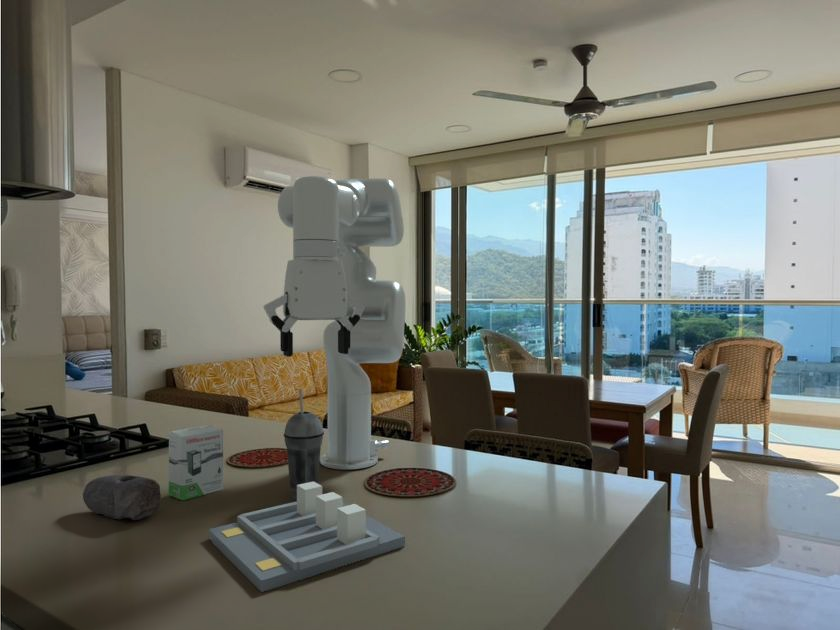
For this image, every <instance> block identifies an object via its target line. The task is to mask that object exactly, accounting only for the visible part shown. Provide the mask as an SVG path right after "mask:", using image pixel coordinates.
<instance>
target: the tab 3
mask: <svg viewBox="0 0 840 630" xmlns="http://www.w3.org/2000/svg"><path fill="white" fill-rule="evenodd" d="M347 505H348V506H344V507H340V508H337V539H338V540H339V541H341V542H342V543H344V544H348V543H352V542H355V541H359V540H362V539H365V538H366V515H367V513H366V512H367V509H365V508H363V507H362V506H360V505H358V504H356V503H353V504H350V505H349V504H347Z"/></svg>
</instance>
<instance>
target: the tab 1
mask: <svg viewBox="0 0 840 630" xmlns="http://www.w3.org/2000/svg"><path fill="white" fill-rule="evenodd" d="M322 494H323V485H321V484H319V483H318V484H317V483H315V482H314V481H313V482H309V483H304V484H299V485H297V500H296V502H297V513H299V514H300V515H302V516H305V515H309V514H313V513H316V496H318V495H322Z"/></svg>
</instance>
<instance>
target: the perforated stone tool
mask: <svg viewBox="0 0 840 630" xmlns="http://www.w3.org/2000/svg"><path fill="white" fill-rule="evenodd" d="M161 497H162V496H161V486H160V484H159V483H158V481H157V480H155V479H152V478H149V477H143V476H138V475H137V476H135V475H132V474H131V475H129V474H127V475H125V474H124V475H123V474H122V475H121V474H117V475H116V474H115V475H105V476H99V477H96V478H94V479H92V480H90V481H89V482H87V484H86V485H85V487H84V489H83V492H82V500H83V502H84V504H85V506H86V507H87V508H88V510H89V511H91V512H93V513H95V514H97V515H103V516H104V517H107V518H111V519H116V520H123V519H125V518H129V519H131V520H132V521H140V520H142V519H143V518H147V517H148V518H149V517H151V516H152V515H153V514H154V513H156V512H157V511H158V509H159V508H160V506H161V502H162V499H161Z"/></svg>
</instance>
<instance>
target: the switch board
mask: <svg viewBox="0 0 840 630" xmlns="http://www.w3.org/2000/svg"><path fill="white" fill-rule="evenodd" d="M348 505H349V504H347V503H345V502H344V501H343V507H344V506H348ZM236 519H237V522H233V523H229V524H228V523H227V524H225V525H220V526H216V527H212V528H208V540H209V539H210V540H211V541H212V542H211V541H210V540H209V541H210V542H211V543H212V544H213V545H214V546H215V547H216V548H217V549H218V550H219V551H220V552H221V553H222V554H223V555H224V556H225V558H227V559H228V561H230V562H231V563H232V564H233V565H234V566H235V567H236V568H237V569H238V570H239V571H240V572H241V574H243V575H244V576H245V577H246V578H247V579H248V580H249V581H250V583H252V585H254V586H255V587H256V589H257V590H259V591H260V593H264V591H265V592H268V591H271V590H274V589H277V588H280V587H282V586H283V587H284V586H286V585H289V584H293V583H296V582H299V581H301V580H304V579H307V578H308V579H309V578H311V577H314V576H317V575H320V573H321V574H323V572H324V573H326V571H327V572H329V570H330V571H333V570H336V569H339V568H342V567H345V566H348V565H347V564H349V565H351V563H352V564H354V562H355V563H358V562H360V560H361V561H364V560H367V559H370V558H373V557H376V556H380V555H382V554H386V553H388V552H391V551H392V552H393V551H395V550H397V549H401V548H404V547H405V546H406V543H405V538H406V536H405V535H403V534H401V533H399V532H397V530H393V529H392V528H391V527H388V526H386V525H385V524H383V523H382V522H380V521H378V520H377V519H374V518H373V517H371V516H369V515H367V514H366V538H365V539H362V540H359V541H355V542H352V543H348V544H344V543H342V542H341V541H339V540H338V539H337V526H333V527H330V528H326V529H321V528H320V527H318V526H317V525H316V513H313V514H309V515H305V516H302V515H300V514H299V513H297V501H293V502H289V503H288V502H287V503H284V504H280V505H275V506H271V507H267V508H262V509H259V510H254V511H250V512H245V513H241V514H240V515H237V518H236ZM366 558H367V559H366ZM357 561H358V562H357ZM344 565H345V566H344ZM341 566H342V567H341ZM338 567H339V568H338ZM335 568H336V569H335ZM332 569H333V570H332ZM298 580H299V581H298Z"/></svg>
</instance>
